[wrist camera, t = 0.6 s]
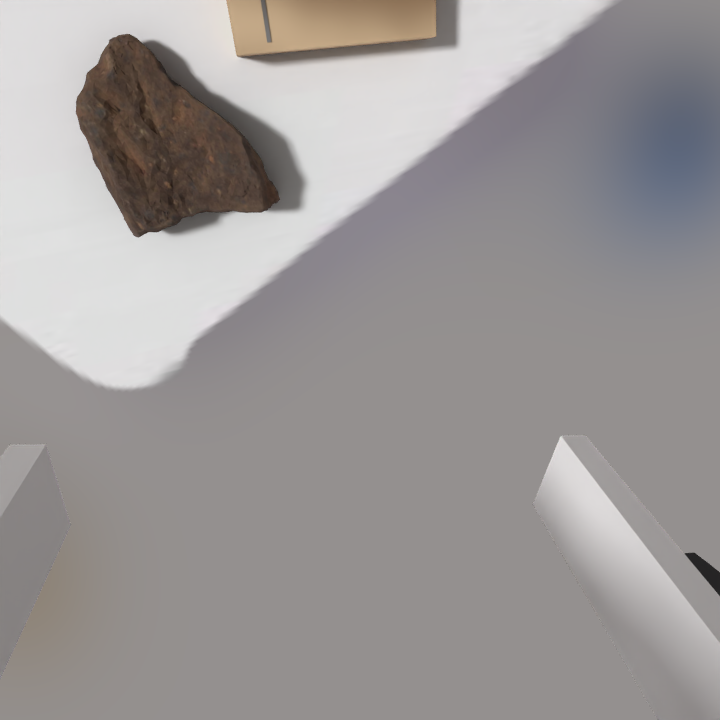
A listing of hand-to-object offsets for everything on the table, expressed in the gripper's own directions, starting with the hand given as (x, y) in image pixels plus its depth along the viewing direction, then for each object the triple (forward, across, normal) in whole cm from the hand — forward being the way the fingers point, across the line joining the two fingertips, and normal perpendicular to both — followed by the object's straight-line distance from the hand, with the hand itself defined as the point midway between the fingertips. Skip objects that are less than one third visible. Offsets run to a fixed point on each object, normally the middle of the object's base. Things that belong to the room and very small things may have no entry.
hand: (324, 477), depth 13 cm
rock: (+27, -8, +4) cm, 29 cm away
